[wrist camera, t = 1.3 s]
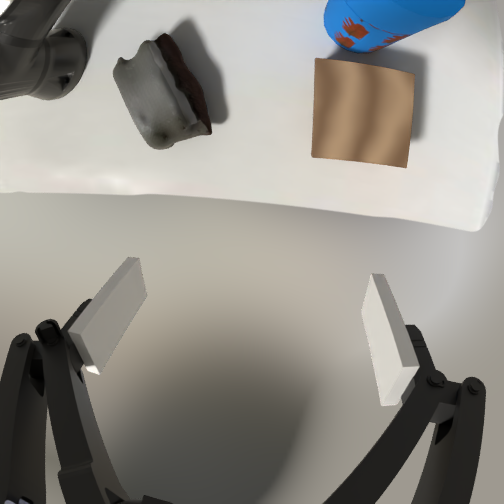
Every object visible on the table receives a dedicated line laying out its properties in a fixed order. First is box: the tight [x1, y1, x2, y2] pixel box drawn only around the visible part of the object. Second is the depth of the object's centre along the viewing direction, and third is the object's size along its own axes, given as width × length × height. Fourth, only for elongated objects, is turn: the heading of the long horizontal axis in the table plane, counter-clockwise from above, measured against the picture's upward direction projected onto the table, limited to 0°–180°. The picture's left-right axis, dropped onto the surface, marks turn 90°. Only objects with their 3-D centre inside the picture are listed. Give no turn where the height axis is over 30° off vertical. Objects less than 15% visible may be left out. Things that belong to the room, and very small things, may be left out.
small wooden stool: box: [311, 58, 415, 168], centre depth 38 cm, size 14×14×7 cm
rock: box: [113, 33, 212, 150], centre depth 40 cm, size 18×11×8 cm, turn 25°
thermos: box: [324, 0, 465, 53], centre depth 23 cm, size 11×11×25 cm
